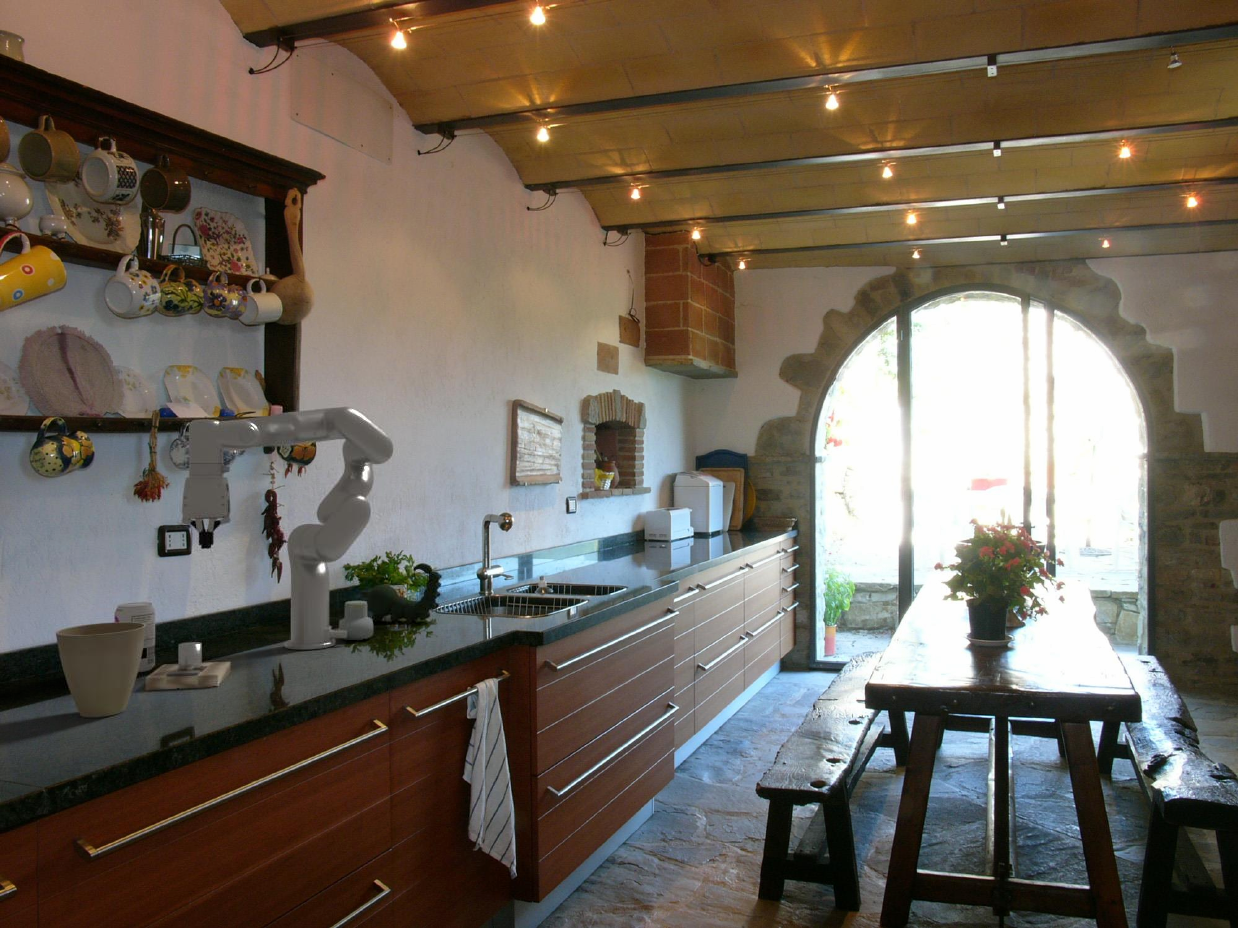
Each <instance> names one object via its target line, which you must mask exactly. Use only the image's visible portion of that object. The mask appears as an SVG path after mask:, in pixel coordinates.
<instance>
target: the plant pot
mask: <svg viewBox="0 0 1238 928" xmlns="http://www.w3.org/2000/svg"><path fill="white" fill-rule="evenodd" d="M145 631H146V624H144V623H137V622H115V621H114V622H100V623H89V624H83V625H76V626H71V627H65V628H62V629H60V630H59V629H58V630H57V631H55V636H56V642H57V648H58V652H59V653H58V654H59V658H60V663H61V666H62V669H63V673H64V677H65V680H66V683H67V686H68V689H69V692H70V694H71V697H72V700H73V703H74V704H75V707H76V708H77V712H78V713H79V715H80V716H81V717H83V718H102V717H110V716H115V715H117V714H121V713H122V712H125V710H126V708H127V705H128V704H129V700H130V698H131V694H132V693H133V688H134V685H135V682H136V679H137V676H138V673H137V672H138V668H139V664H140V660H141V656H142V650H143V645H144V638H145Z"/></svg>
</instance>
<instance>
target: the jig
mask: <svg viewBox="0 0 1238 928" xmlns="http://www.w3.org/2000/svg"><path fill="white" fill-rule="evenodd" d="M231 665H232V663H231V661H214V662H212V661H211V662H202V672H200V670H195V671H178V663H171V664H170V663H169V664H168V663H167V664H163V665H161V666H160V667H158V668H157V669H155V670H154V671H153V672H151V673H150V674H149V675H148V676H146V677H145V690H146V691H154V690H176V689H177V688H179V689H193V688H194V689H196V688H214V687H213V686H218V687H219V686H220V685H221V684H222V683H221V682H222V681H223V682H224V680H226V678H227V677H228V676H229V675H230V674H231V673H232V670H231V667H232V666H231ZM229 673H230V674H229ZM220 683H221V684H220ZM219 684H220V685H219Z"/></svg>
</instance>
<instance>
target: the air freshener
mask: <svg viewBox="0 0 1238 928" xmlns="http://www.w3.org/2000/svg"><path fill="white" fill-rule="evenodd" d="M373 621H374V620H373V619H372V617H368V606H367V600H366V601H365V600H352V601H346V602H345V603H344V617H343V618H341V619H339V622H338V630H343V631H345V630H347V638H341V639H343V640H344V641H347V640H357V641H364V640H363V639H365V640H368V639H369V638H371V637H372V636H373V635H374V622H373Z"/></svg>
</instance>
